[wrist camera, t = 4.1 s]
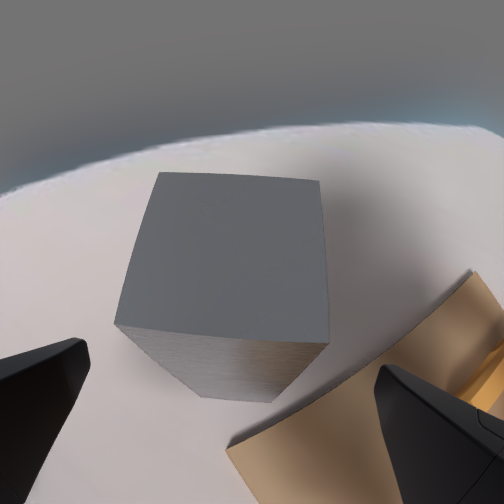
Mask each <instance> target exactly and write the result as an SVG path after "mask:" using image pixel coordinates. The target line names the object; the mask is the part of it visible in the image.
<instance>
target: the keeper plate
mask: <svg viewBox="0 0 504 504" xmlns="http://www.w3.org/2000/svg"><path fill="white" fill-rule="evenodd" d="M383 364H396V365H397V366H399V367H401V368H403V369H405V370H407V371H408V372H410V373H412V374H414V375H416V376H418V377H420V378H421V379H423V380H425V381H427V382H429V383H431V384H433V385H435V386H436V387H438V388H440V389H442V390H444V391H446V392H448V393H450V394H452V395H454V396H455V397H457V398H459V399H461V400H463V401H465V402H467V403H469V404H471V405H473V406H475V407H476V408H477V409H478V408H479V409H481V410H483V411H485V412H487V413H489V414H491V415H493V416H495V417H497V418H499V419H501V420H504V311H503V309H502V308H501V306H500V305H499V303H498V302H497V300H496V299H495V297H494V296H493V294H492V293H491V291H490V290H489V289H488V287H487V286H486V284H485V283H484V282H483V280H482V279H481V277H480V276H479V275H478V273H477V272H476V271H475V272H474V273H473V274H472V275H471V276H470V277H469V278H468V279H467V280H466V281H465V282H464V283H463V284H462V285H461V286H460V287H459V288H458V289H457V290H456V291H455V292H454V293H453V294H452V295H451V296H450V297H449V298H448V299H446V300H445V301H444V302H443V303H442V304H441V305H440V306H439V307H438V308H437V309H436V310H435V311H433V312H432V313H431V314H430V315H429V316H428V317H427V318H426V319H424V320H423V321H422V322H421V323H420V324H419V325H417V326H416V327H415V328H414V329H413V330H411V331H410V332H409V333H408V334H407V335H405V336H404V337H403V338H402V339H401V340H399V341H398V342H397V343H396V344H394V345H393V346H392V347H391V348H389V349H388V350H387V351H385V352H384V353H383V354H381V355H380V356H379V357H378V358H376V359H375V360H374V361H372V362H371V363H369V364H368V365H367V366H365V367H364V368H363V369H361V370H360V371H358V372H357V373H356V374H354V375H353V376H351V377H350V378H348V379H347V380H346V381H344V382H343V383H341V384H340V385H338V386H337V387H335V388H334V389H332V390H331V391H329V392H328V393H326V394H324V395H323V396H321V397H320V398H318V399H317V400H315V401H313V402H312V403H310V404H309V405H307V406H305V407H304V408H302V409H300V410H299V411H297V412H295V413H294V414H292V415H290V416H288V417H287V418H285V419H283V420H281V421H280V422H278V423H276V424H274V425H272V426H271V427H269V428H267V429H265V430H263V431H261V432H259V433H258V434H256V435H254V436H252V437H250V438H248V439H246V440H244V441H242V442H240V443H238V444H236V445H234V446H232V447H229V448H227V449H226V450H225V452H226V453H227V455H228V456H229V458H230V460H231V461H232V463H233V465H234V466H235V468H236V469H237V471H238V473H239V474H240V476H241V477H242V479H243V480H244V482H245V483H246V485H247V486H248V488H249V489H250V491H251V492H252V494H253V495H254V497H255V498H256V500H257V501H258V503H259V504H403V502H402V498H401V495H400V491H399V488H398V484H397V481H396V477H395V474H394V471H393V467H392V464H391V461H390V457H389V454H388V451H387V448H386V445H385V442H384V438H383V435H382V431H381V427H380V422H379V416H378V411H377V406H376V402H375V397H374V385H375V382H376V379H377V375H378V372H379V369H380V367H381V366H382V365H383Z"/></svg>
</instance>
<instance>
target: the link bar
mask: <svg viewBox="0 0 504 504" xmlns="http://www.w3.org/2000/svg"><path fill="white" fill-rule="evenodd" d="M114 325H115V326H116V327H118V328H119V329H120V330H121V331H122V332H123V333H124V334H125V335H126V336H127V337H128V338H129V339H131V340H132V341H133V342H134V343H135V344H136V345H137V346H138V347H140V348H141V349H142V350H143V351H144V352H145V353H146V354H148V355H149V356H150V357H151V358H152V359H154V360H155V361H156V362H157V363H158V364H159V365H161V366H162V367H163V368H164V369H166V370H167V371H168V372H169V373H171V374H172V375H173V376H174V377H176V378H177V379H178V380H179V381H181V382H182V383H183V384H184V385H186V386H187V387H188V388H190V389H191V390H192V391H194V392H195V393H196V394H198V395H199V396H200V397H205V398H214V399H224V400H235V401H249V402H266V403H271V402H272V401H273V400H274V399H275V398H276V397H278V396H279V395H280V394H281V393H282V392H283V391H284V390H285V389H286V388H287V387H288V386H289V385H290V384H291V383H292V382H293V381H294V380H295V379H296V378H297V377H298V376H299V375H300V374H301V373H302V372H303V371H304V369H305V368H306V367H307V366H308V365H309V364H310V363H311V362H312V361H313V360H314V359H315V358H316V357H317V356H318V355H319V354H320V353H321V351H322V350H323V349H324V348H325V347H326V346H327V345H328V344H329V314H328V290H327V272H326V256H325V242H324V229H323V218H322V207H321V197H320V187H319V181H315V180H305V179H293V178H281V177H268V176H252V175H234V174H212V173H175V172H159V174H158V177H157V179H156V182H155V185H154V188H153V191H152V193H151V196H150V199H149V202H148V205H147V208H146V211H145V214H144V217H143V220H142V223H141V226H140V229H139V232H138V236H137V239H136V242H135V245H134V249H133V252H132V256H131V259H130V262H129V266H128V270H127V273H126V277H125V281H124V284H123V288H122V292H121V296H120V300H119V304H118V308H117V312H116V316H115V321H114Z"/></svg>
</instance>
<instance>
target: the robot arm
mask: <svg viewBox="0 0 504 504" xmlns="http://www.w3.org/2000/svg"><path fill="white" fill-rule="evenodd" d="M89 369H90V357H89V352H88V347H87V343H86V341H85V340H83V339H79V338H70V339H67V340H64V341H60V342H57V343H54V344H51V345H47V346H44V347H41V348H37V349H34V350H31V351H27V352H24V353H21V354H17V355H14V356H10V357H7V358H4V359H0V504H24V503H25V501H26V499H27V497H28V495H29V493H30V490H31V488H32V486H33V484H34V482H35V480H36V478H37V476H38V473H39V471H40V469H41V467H42V465H43V463H44V461H45V459H46V457H47V455H48V453H49V451H50V449H51V447H52V445H53V444H54V442H55V440H56V438H57V436H58V434H59V432H60V430H61V428H62V426H63V425H64V423H65V421H66V419H67V417H68V415H69V414H70V412H71V410H72V408H73V406H74V404H75V402H76V400H77V398H78V395H79V393H80V390H81V388H82V386H83V383H84V381H85V379H86V376H87V374H88V372H89ZM374 397H375V402H376V406H377V411H378V416H379V422H380V427H381V431H382V435H383V438H384V442H385V445H386V448H387V451H388V454H389V457H390V461H391V464H392V467H393V471H394V474H395V477H396V481H397V484H398V488H399V491H400V495H401V498H402V502H403V504H504V420H501V419H499V418H497V417H495V416H493V415H491V414H489V413H487V412H485V411H483V410H481V409H479V408H478V409H477V408H476V407H475V406H473V405H471V404H469V403H467V402H465V401H463V400H461V399H459V398H457V397H455V396H454V395H452V394H450V393H448V392H446V391H444V390H442V389H440V388H438V387H436V386H435V385H433V384H431V383H429V382H427V381H425V380H423V379H421V378H420V377H418V376H416V375H414V374H412V373H410V372H408V371H407V370H405V369H403V368H401V367H399V366H397V365H396V364H383V365H382V366H381V367H380V369H379V372H378V375H377V379H376V382H375V385H374Z"/></svg>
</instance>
